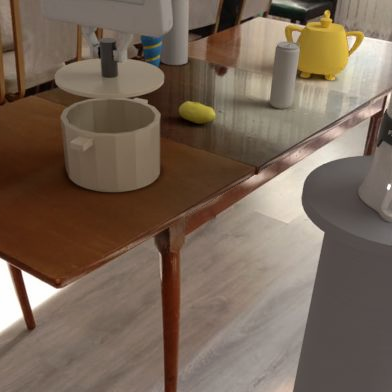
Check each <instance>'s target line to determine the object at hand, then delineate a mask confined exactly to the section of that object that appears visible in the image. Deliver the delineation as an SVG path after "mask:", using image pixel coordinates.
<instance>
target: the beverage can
mask: <svg viewBox="0 0 392 392" xmlns="http://www.w3.org/2000/svg"><path fill="white" fill-rule="evenodd" d="M299 47H300V45H299V44H297V43H296V42H294V41H293V42H289V41H287V40H285V41H283V40H282V41H278V42H277V43H276V46H275V50H274V58H273V59H274V60H273V67H272V76H271V84H270V85H271V87H270V95H269V104H270V105H271V107H273V108H275V109H279V110H287V109H289V108H290V107H292V105H293V101H294V94H295V86H296V78H297V71H298V69H297V66H298V59H299V52H300V49H299Z"/></svg>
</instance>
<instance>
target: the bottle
mask: <svg viewBox="0 0 392 392" xmlns="http://www.w3.org/2000/svg"><path fill="white" fill-rule="evenodd" d="M189 3H190V0H171V4H172V16H173V26H172V28H171V30H170V31H169V32H168V33H167V34H165V35H164V36H163V38H162V50H161V53H160V63H163V64H165V65H169V66H181V65H185V64H188V61H189V60H188V58H189V17H190V16H189V14H190V13H189V7H190V6H189V5H190V4H189Z"/></svg>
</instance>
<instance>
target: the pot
mask: <svg viewBox="0 0 392 392" xmlns="http://www.w3.org/2000/svg"><path fill="white" fill-rule="evenodd" d="M148 101H149V100H148V99H144V98H139V97H133V98H119V99H100V98H88V99H84V100H81V101H78V102H74V103H72V104H70V105H69V106H67V107H66V108H64V109H63V111H62V113H61V114H60V117H59V118H60V126H61V127H60V128H61V136H62V145H63V154H64V164H65V170H66V174H67V177H68V178H69V180H70V181H71V182H73V183H74V184H75V185H77V186H79V187H81V188H84V189H87V190H90V191H94V192H102V193H124V192H130V191H131V192H132V191H135V190H139V189H142V188H145V187H147V186H149V185H151V184H153V183H154V182H156V180H157V179H158V178H159V176H160V174H161V169H162V168H161V167H162V115H161V112H160V111H159V110H158V109H157V108H156V107H155V106H153V105H152V104H149V103H148Z"/></svg>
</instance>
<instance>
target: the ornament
mask: <svg viewBox="0 0 392 392" xmlns="http://www.w3.org/2000/svg"><path fill="white" fill-rule="evenodd" d="M162 38H163V36H162V37H159V38H157V37H151V36H145V35H140V42H141V44H142V47H143V48H142V54H143V57H144V62H146V63H149V64H152V65H154V66H156V67H158V68H159V67H160V63H161V50H162Z"/></svg>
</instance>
